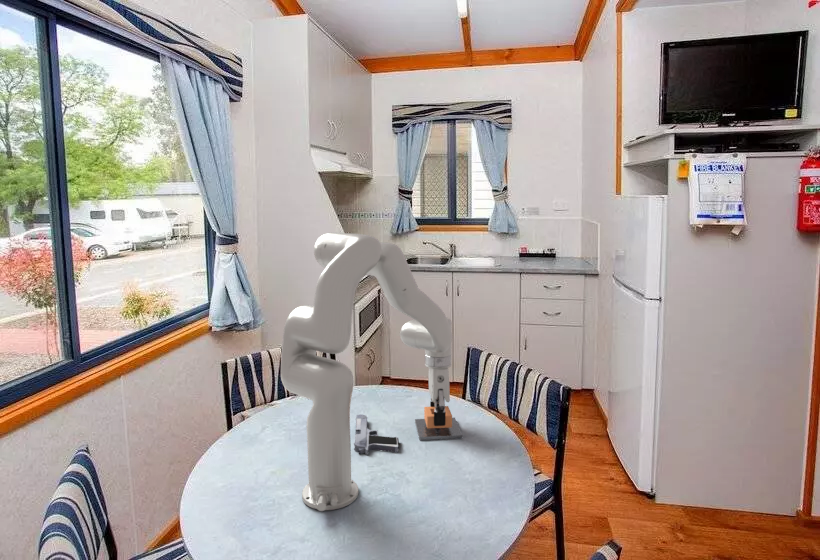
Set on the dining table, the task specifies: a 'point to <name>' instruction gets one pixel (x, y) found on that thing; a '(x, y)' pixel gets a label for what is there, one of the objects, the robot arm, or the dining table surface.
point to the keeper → (437, 431)
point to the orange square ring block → (430, 417)
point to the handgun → (372, 438)
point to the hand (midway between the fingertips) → (437, 419)
